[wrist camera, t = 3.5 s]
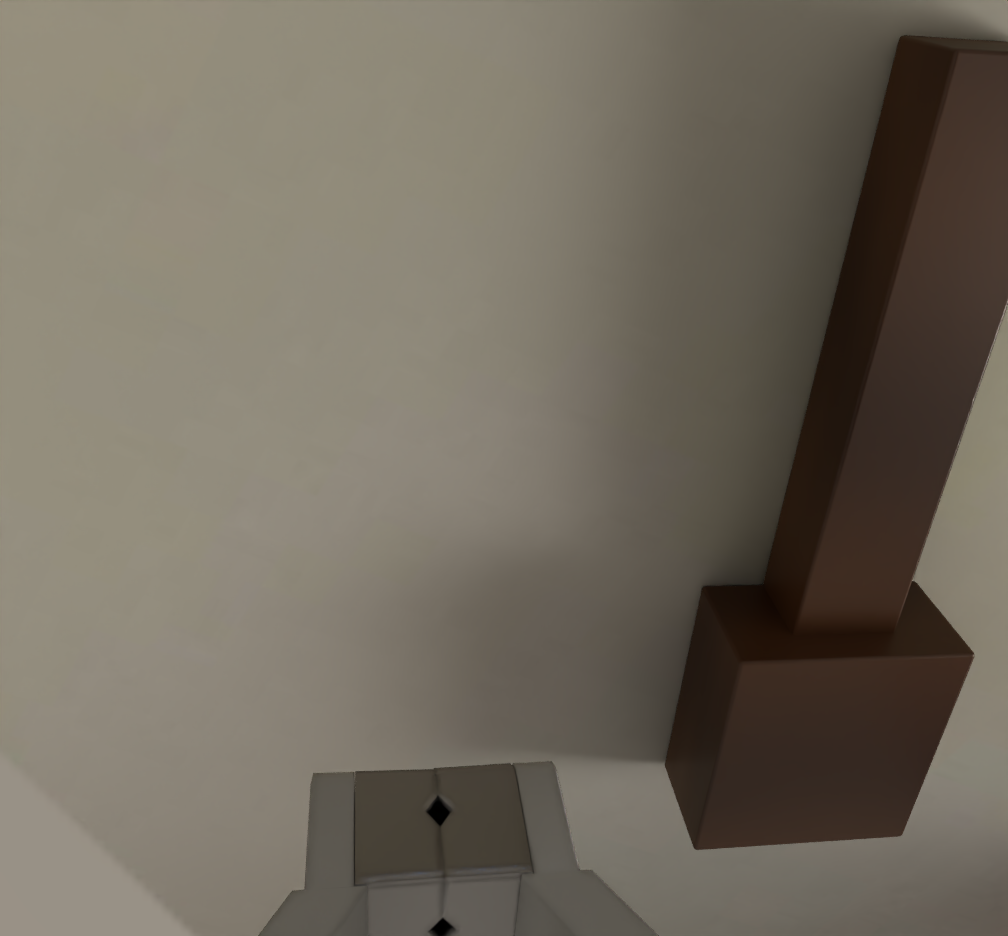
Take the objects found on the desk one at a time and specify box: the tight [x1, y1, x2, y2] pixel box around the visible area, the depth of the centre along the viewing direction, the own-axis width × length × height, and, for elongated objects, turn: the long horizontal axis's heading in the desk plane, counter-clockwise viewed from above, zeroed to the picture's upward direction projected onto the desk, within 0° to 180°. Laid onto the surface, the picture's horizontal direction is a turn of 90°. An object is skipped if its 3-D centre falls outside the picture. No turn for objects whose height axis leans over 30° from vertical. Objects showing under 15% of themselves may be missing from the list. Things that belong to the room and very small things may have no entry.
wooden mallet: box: [665, 35, 1008, 850], centre depth 15 cm, size 13×4×2 cm, turn 176°
